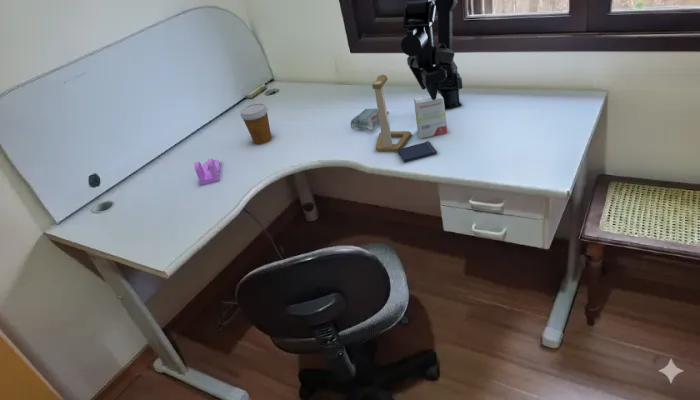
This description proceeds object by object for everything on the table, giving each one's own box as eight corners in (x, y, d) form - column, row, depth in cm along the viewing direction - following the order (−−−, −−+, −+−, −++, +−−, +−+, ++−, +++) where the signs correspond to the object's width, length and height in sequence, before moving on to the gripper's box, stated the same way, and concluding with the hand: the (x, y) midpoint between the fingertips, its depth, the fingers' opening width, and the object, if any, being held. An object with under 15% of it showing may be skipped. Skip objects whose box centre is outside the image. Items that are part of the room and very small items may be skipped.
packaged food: (390, 119, 177) (387, 105, 174) (371, 135, 169) (369, 121, 167) (368, 116, 182) (366, 104, 179) (350, 132, 174) (347, 119, 172)
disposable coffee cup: (281, 136, 182) (272, 104, 175) (260, 148, 176) (250, 116, 170) (264, 131, 188) (255, 100, 181) (244, 143, 182) (233, 112, 176)
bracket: (218, 180, 163) (211, 161, 159) (201, 185, 163) (193, 166, 159) (220, 161, 174) (214, 143, 170) (204, 165, 174) (197, 147, 170)
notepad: (429, 143, 158) (428, 140, 157) (437, 154, 152) (436, 151, 151) (397, 152, 157) (397, 149, 156) (404, 163, 151) (404, 159, 150)
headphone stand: (412, 134, 164) (403, 68, 152) (404, 152, 156) (394, 83, 144) (380, 135, 168) (369, 70, 156) (371, 152, 160) (358, 85, 148)
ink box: (443, 126, 165) (440, 91, 159) (447, 133, 161) (444, 98, 155) (417, 132, 165) (412, 97, 159) (420, 138, 161) (416, 103, 155)
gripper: (462, 45, 140) (466, 98, 149) (439, 28, 156) (443, 77, 164) (423, 54, 140) (429, 108, 148) (403, 37, 155) (409, 86, 164)
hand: (428, 94), depth 156 cm, fingers open, 9 cm apart
